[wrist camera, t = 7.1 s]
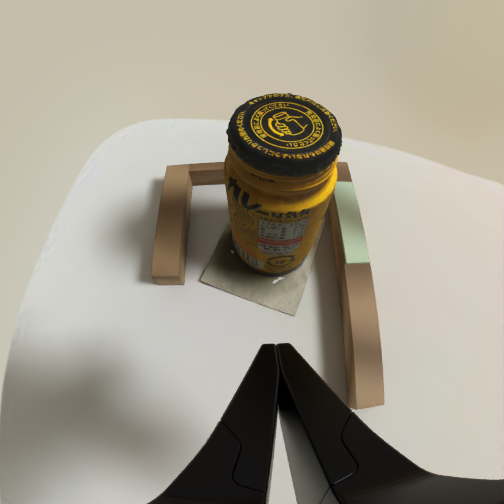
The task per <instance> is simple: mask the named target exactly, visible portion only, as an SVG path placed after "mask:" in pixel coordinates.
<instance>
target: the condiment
mask: <svg viewBox="0 0 504 504" xmlns="http://www.w3.org/2000/svg"><path fill="white" fill-rule="evenodd" d="M226 133H227V135H228V142H229V150H228V154H227V156H226V158H225V162H224V178H225V186H226V193H227V200H228V209H229V215H230V221H229V223H228V224H227V227H226V229H225V231H224V232H223V234H222V237H221V238H220V240H219V242H218V245H217V247H216V249H215V251H214V253H213V256H212V257H211V260H210V262H209V264H208V266H207V268H206V269H205V272H204V274H203V276H202V278H201V281H202V282H205V283H207V284H210V285H212V286H214V287H217V288H219V289H222V290H224V291H227V292H230V293H232V294H235V295H237V296H240V297H243V298H245V299H248V300H251V301H253V302H256V303H259V304H262V305H265V306H268V307H270V308H273V309H276V310H279V311H282V312H285V313H287V314H290V315H293V316H295V314H296V311H297V308H298V305H299V302H300V299H301V297H302V294H303V291H304V288H305V284H306V282H307V279H308V275H309V272H310V269H311V266H312V263H313V260H314V256H315V253H316V250H317V247H318V244H319V240H320V237H321V234H322V230H323V227H324V224H325V220H326V219H325V218H324V215H325V212H326V210H327V208H328V204H329V202H330V199H331V197H332V195H333V193H334V191H335V185H336V182H337V168H336V163H337V159H338V155H339V152H340V147H341V146H342V133H341V129H340V127H339V125H338V123H337V120H336V118H335V117H334V115H333V114H331V113H330V112H329V111H328V110H327V109H326V108H324V107H323V106H322V105H320V104H318V103H316V102H314V101H312V100H310V99H308V98H305V97H301V96H298V95H292V94H290V93H288V94H276V93H275V94H268V95H264V96H260V97H256V98H253V99H251V100H249V101H247V102H246V103H245V104H243V105H241V106H240V107H239V108H237V109H236V110H235V112H234V114H233V116H232V117H231V119H230V122H229V125H228V129H227V131H226ZM231 250H232V251H234V253H231ZM279 277H282V278H283V277H284V278H285V279H282V280H279V281H278V282H276V283H275V284H273V283H272V282H273V281H274V280H276V279H278V278H279Z"/></svg>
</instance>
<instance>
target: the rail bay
mask: <svg viewBox="0 0 504 504" xmlns="http://www.w3.org/2000/svg"><path fill="white" fill-rule="evenodd" d="M336 168H337V182H336V185H335V191H334V193H333V195H332V197H331V199H330V202H329V204H328V208H327V211H328V217H329V223H330V229H331V235H332V242H333V248H334V255H335V263H336V270H337V278H338V286H339V295H340V304H341V314H342V324H343V335H344V348H345V363H346V381H347V406H348V407H349V408H353V409H356V410H357V409H363V408H369V407H374V406H379V405H384V383H383V366H382V353H381V342H380V332H379V323H378V314H377V307H376V299H375V292H374V285H373V279H372V273H371V267H370V259H369V253H368V248H367V243H366V238H365V233H364V228H363V223H362V219H361V214H360V210H359V206H358V202H357V197H356V193H355V189H354V185H353V182H352V179H351V175H350V172H349V168H348V164H347V162H337V163H336ZM210 184H225V178H224V162H215V163H198V164H184V165H172V166H167V168H166V173H165V179H164V184H163V190H162V196H161V202H160V208H159V214H158V221H157V228H156V235H155V243H154V251H153V259H152V269H151V277H152V278H153V279H154V280H155V281H156V282H157V283H158V284H159V285H184V281H185V265H186V251H187V238H188V226H189V215H190V205H191V195H192V186H193V185H210Z"/></svg>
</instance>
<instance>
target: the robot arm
mask: <svg viewBox="0 0 504 504" xmlns="http://www.w3.org/2000/svg"><path fill="white" fill-rule="evenodd" d="M278 413H279V419H280V423H281V428H282V433H283V438H284V443H285V448H286V452H287V457H288V462H289V467H290V471H291V476H292V481H293V486H294V490H295V495H296V500H297V504H504V479H502V480H487V479H471V478H460V477H451V476H443V475H437V474H434V473H431V472H428V471H426V470H424V469H422V468H420V467H419V466H417V465H416V464H414V463H413V462H412V461H410V460H409V459H408V458H406V457H405V456H404V455H402V454H401V453H400V452H398V451H397V450H396V449H394V448H393V447H392V446H390V445H389V444H388V443H386V442H385V441H384V440H383V439H382V438H380V437H379V436H378V435H377V434H376V433H374V432H373V431H372V430H371V429H370V428H369V427H368V426H367V425H366V424H365V423H364V422H363V421H362V420H361V419H360V418H359V417H358V416H357V415H356V414H355V413H354V412H352V410H351V409H350V408H349V407H348V406H347V405H346V404H345V403H344V401H343V400H342V399H341V398H340V397H339V396H338V395H337V394H336V393H335V392H334V391H333V390H332V389H331V388H330V387H329V385H328V384H327V383H326V382H325V381H324V380H323V379H322V378H321V377H320V376H319V375H318V374H317V372H316V371H315V370H314V369H313V368H312V367H311V366H310V365H309V364H308V363H307V362H306V360H305V359H304V358H303V357H302V356H301V355H300V354H299V353H298V352H297V351H296V349H295V348H294V347H293V346H292V345H291V344H290V343H279V344H277V345H275V344H263V345H261V347H260V349H259V351H258V353H257V354H256V356H255V358H254V360H253V362H252V364H251V366H250V367H249V369H248V371H247V373H246V375H245V377H244V378H243V380H242V382H241V384H240V386H239V387H238V389H237V391H236V393H235V395H234V396H233V398H232V400H231V402H230V403H229V405H228V407H227V409H226V410H225V412H224V414H223V416H222V417H221V419H220V421H219V422H218V424H217V426H216V427H215V429H214V431H213V432H212V434H211V435H210V437H209V438H208V440H207V441H206V443H205V444H204V446H203V447H202V448H201V450H200V451H199V452H198V453H197V455H196V456H195V457H194V458H193V460H192V461H191V462H190V463H189V464H188V465H187V466H186V468H185V469H184V470H183V471H182V472H181V473H180V474H179V475H178V477H177V478H176V479H175V480H174V481H173V482H172V483H171V484H170V485H169V486H168V488H167V489H166V490H165V491H164V492H163V493H161V494H160V495H159V496H158V497H157V498H155V499H154V500H152V501H151V502H149V503H147V504H268V502H269V494H270V486H271V477H272V467H273V458H274V448H275V438H276V427H277V414H278Z"/></svg>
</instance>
